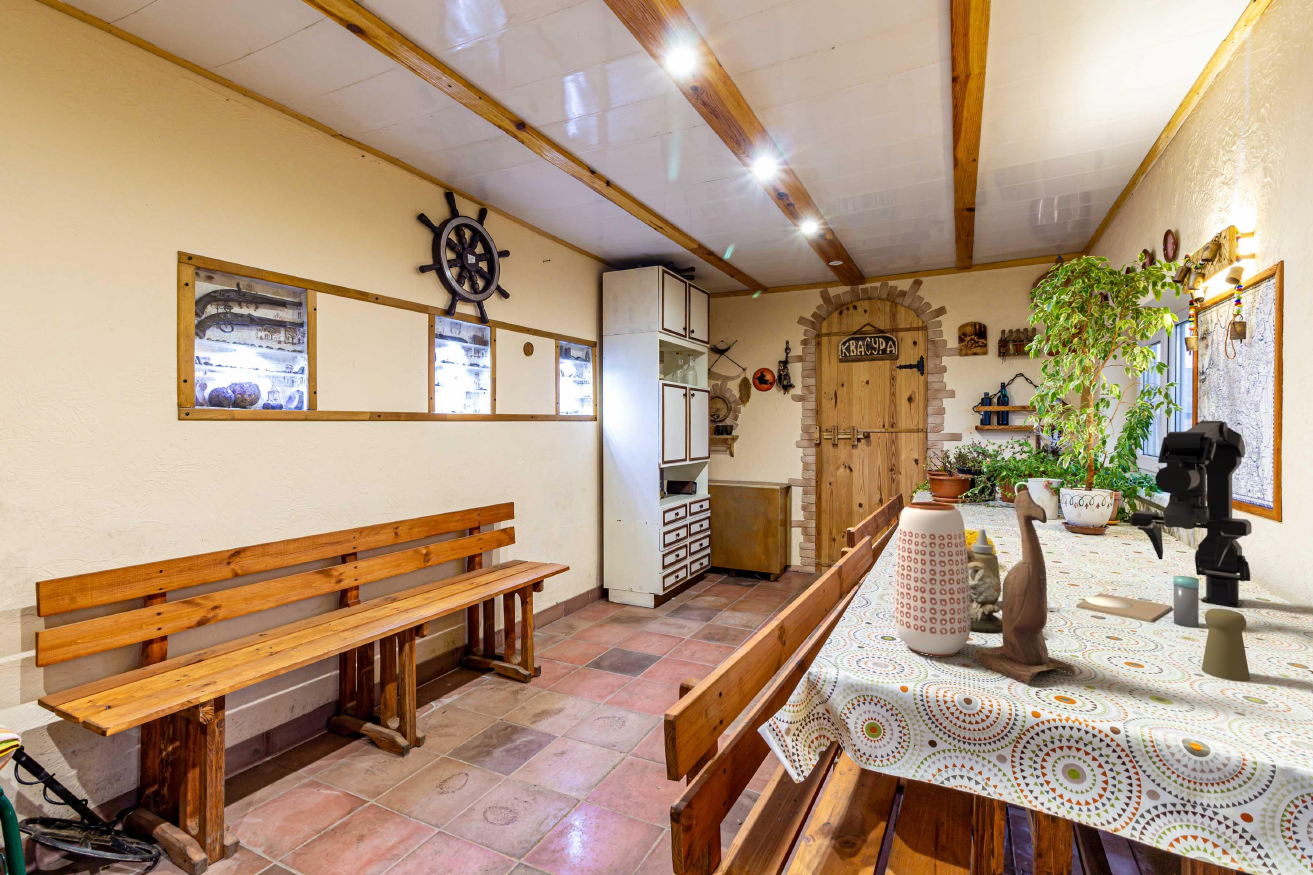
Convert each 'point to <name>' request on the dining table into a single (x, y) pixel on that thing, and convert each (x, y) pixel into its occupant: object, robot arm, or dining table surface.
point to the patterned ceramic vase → (932, 579)
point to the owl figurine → (982, 597)
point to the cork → (1225, 645)
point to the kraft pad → (1125, 607)
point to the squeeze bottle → (986, 555)
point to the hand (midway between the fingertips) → (1188, 562)
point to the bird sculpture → (1024, 606)
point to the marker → (1186, 601)
